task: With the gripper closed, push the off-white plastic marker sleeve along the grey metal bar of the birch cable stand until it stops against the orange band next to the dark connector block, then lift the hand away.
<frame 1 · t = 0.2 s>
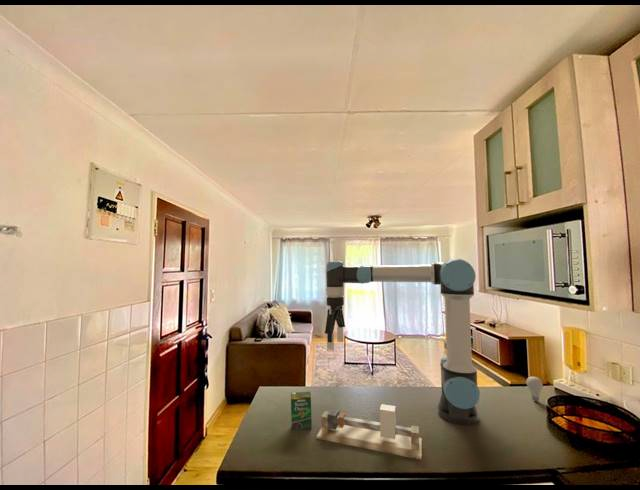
hand: (335, 345, 127), 28 cm above the counter, fingers open, 13 cm apart
lightbulb: (535, 402, 133), on the counter
cable stand: (368, 439, 104), on the counter
sleeve: (388, 421, 103), point 7 cm above the counter, slide at 0.0 cm
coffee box: (301, 428, 112), on the counter
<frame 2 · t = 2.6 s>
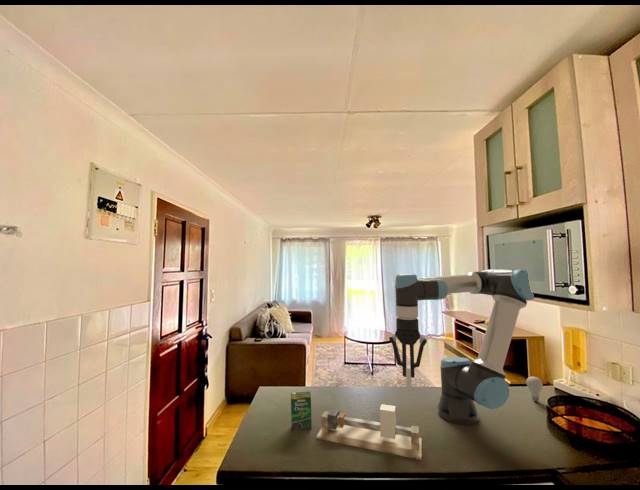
hand: (409, 386, 101), 20 cm above the counter, fingers closed
nothing on the counter moved.
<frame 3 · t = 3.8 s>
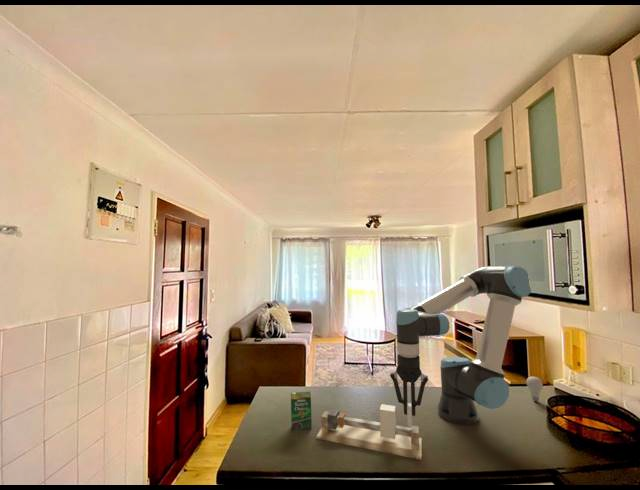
hand: (409, 424, 100), 8 cm above the counter, fingers closed
nothing on the counter moved.
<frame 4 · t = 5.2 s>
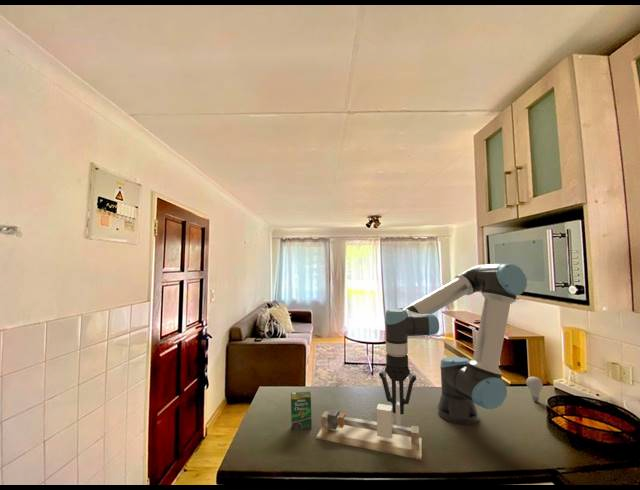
hand: (398, 422, 101), 8 cm above the counter, fingers closed
sleeve: (384, 420, 103), point 7 cm above the counter, slide at 1.1 cm, touching gripper
everything else where it was.
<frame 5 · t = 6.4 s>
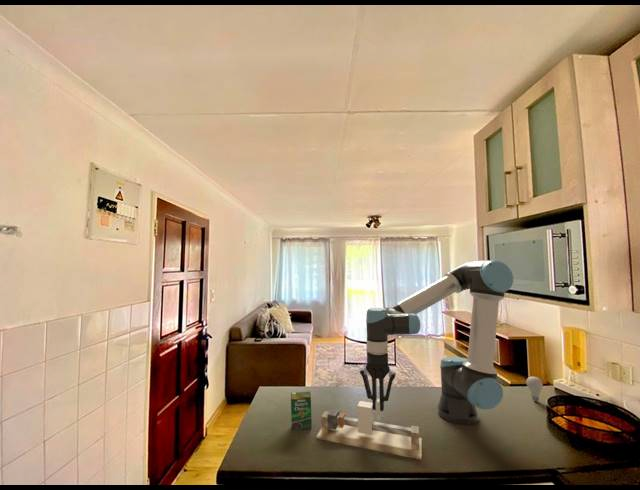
hand: (378, 419, 104), 8 cm above the counter, fingers closed
sleeve: (365, 417, 105), point 7 cm above the counter, slide at 8.0 cm, touching gripper
everything else where it was.
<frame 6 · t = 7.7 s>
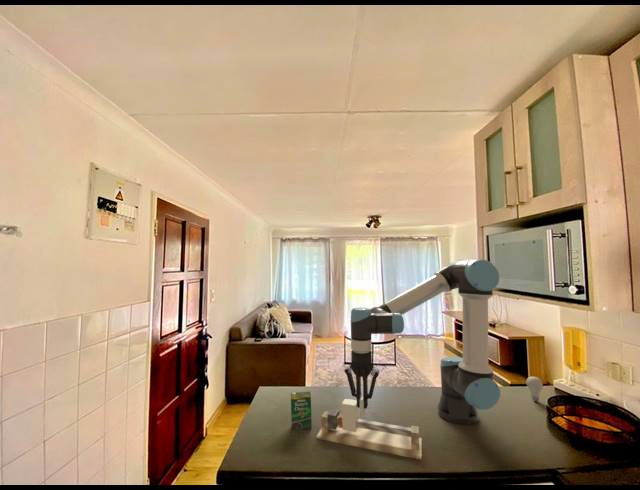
hand: (362, 416, 106), 8 cm above the counter, fingers closed
sleeve: (350, 414, 107), point 7 cm above the counter, slide at 13.7 cm, touching cable stand, gripper
everything else where it was.
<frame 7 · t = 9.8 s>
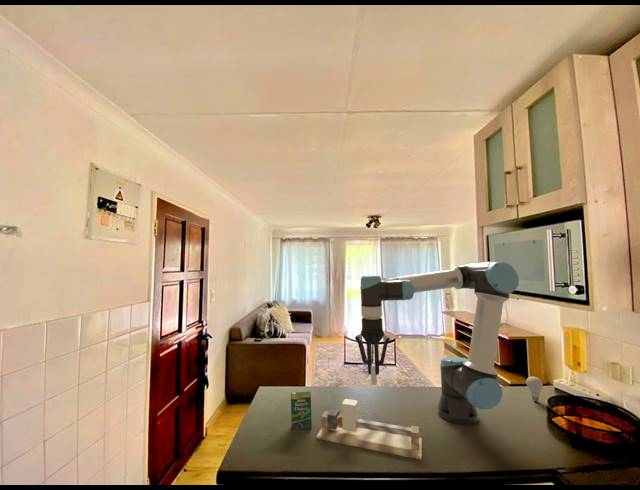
hand: (374, 383, 105), 20 cm above the counter, fingers closed
sleeve: (350, 414, 107), point 7 cm above the counter, slide at 13.7 cm, touching cable stand
everything else where it was.
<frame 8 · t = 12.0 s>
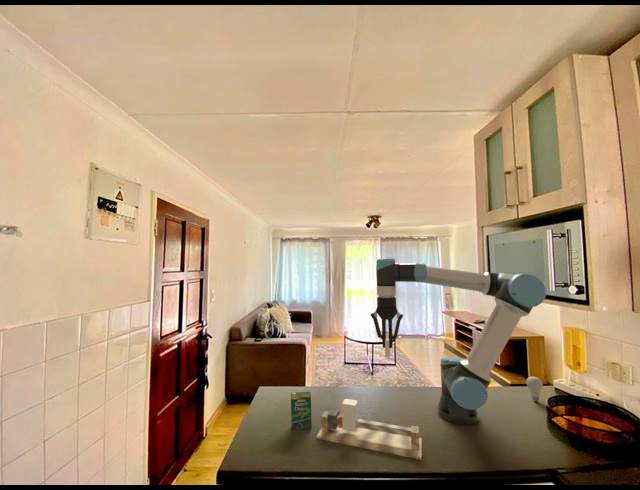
hand: (387, 356, 116), 26 cm above the counter, fingers closed
nothing on the counter moved.
at the end: sleeve slide at 13.7 cm; the gripper is holding nothing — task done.
